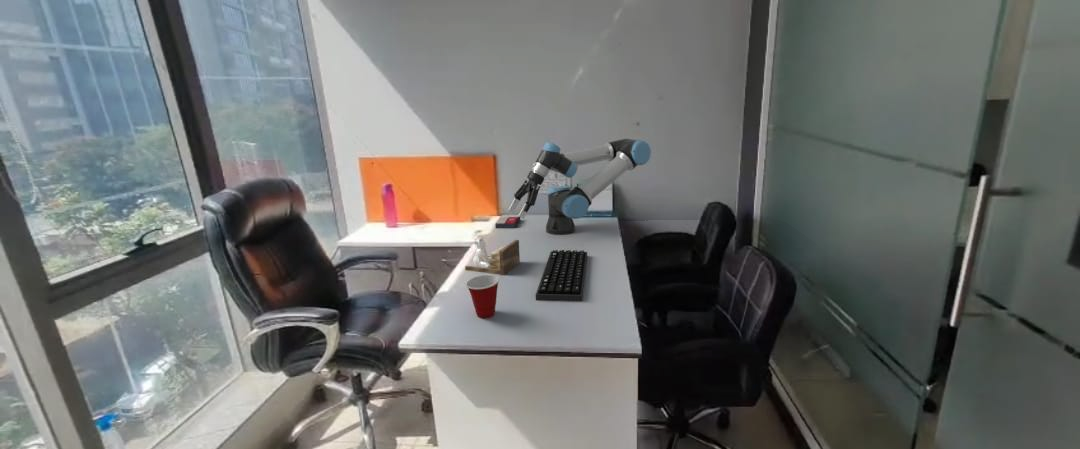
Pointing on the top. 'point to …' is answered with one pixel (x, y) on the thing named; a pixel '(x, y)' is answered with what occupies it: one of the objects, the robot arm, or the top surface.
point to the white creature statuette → (481, 255)
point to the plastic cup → (483, 294)
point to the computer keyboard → (563, 276)
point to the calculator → (508, 221)
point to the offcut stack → (495, 259)
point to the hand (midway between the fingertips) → (515, 214)
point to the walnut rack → (503, 260)
